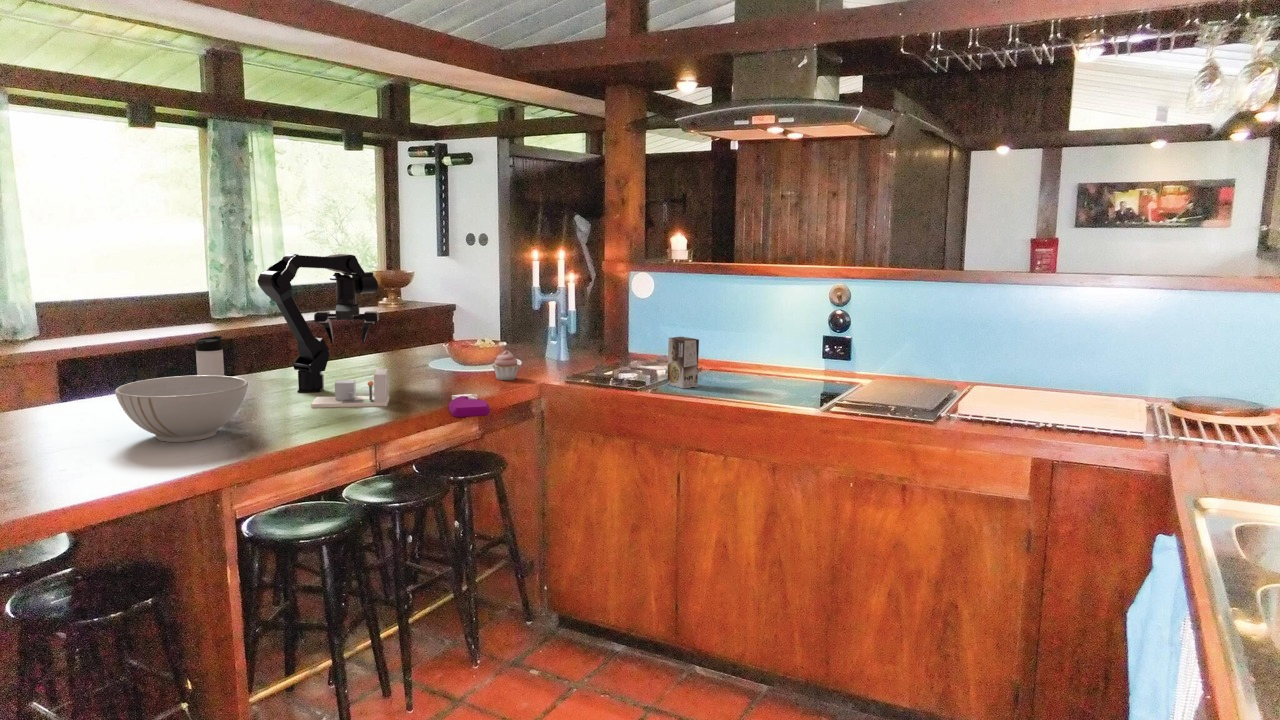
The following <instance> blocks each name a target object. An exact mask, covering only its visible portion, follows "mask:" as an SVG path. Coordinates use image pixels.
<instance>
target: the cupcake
mask: <svg viewBox="0 0 1280 720" xmlns="http://www.w3.org/2000/svg"><path fill="white" fill-rule="evenodd" d="M495 358H496V359H495V360H494V364H491V366H492V368H493V370H494V372H495V377H496V379H497V380H498V381H503V380H505V381H508V380H509V381H514V380H516V378H517V374H518V372H519V371H518V370H519V368H520V366H521V364H518V359H517V358H516V357H515V356H514V354H513V353H512V352H511V351H509V350H507V349H505V350H504V351H503V352H502V353H501V354H499V355H497V356H496V357H495Z"/></svg>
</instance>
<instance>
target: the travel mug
mask: <svg viewBox="0 0 1280 720" xmlns="http://www.w3.org/2000/svg"><path fill="white" fill-rule="evenodd" d="M223 350H224V349H223V338H222V335H214V336H209V337H202V338H198V339H196V340H195V357H196V358H195V359H196V373H197V374H196V376H197V375H214V376H225V363H224V351H223Z"/></svg>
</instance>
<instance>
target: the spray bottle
mask: <svg viewBox="0 0 1280 720" xmlns="http://www.w3.org/2000/svg"><path fill="white" fill-rule="evenodd" d="M448 411H449V412H450V414H451V415H452V416H453V417H455V418H472V417H474V418H475V417H486V416H489V414H490V412H491V408H490V405H489V404H488V403H487V401H485V400H484V399H478V394H476V393H475V394H472V393H469V394H468V393H464V394H452V395H451V400H450V401H449V403H448Z"/></svg>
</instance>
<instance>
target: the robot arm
mask: <svg viewBox="0 0 1280 720" xmlns="http://www.w3.org/2000/svg"><path fill="white" fill-rule="evenodd" d="M300 268H305V269H306V268H307V269H308V268H309V269H325V270H329V271H332V272H334V274H332V276H330V277H329V280H330V281H335V285H336V286H335V287H336V305H335V309H334V310H335V313H331V311H329V310H327V311H322V310H318V311H316V312H315V313H314V314H313V315H314V316H313V321H314V323H315V322H317V323H318V325H322V327H323V328H324V330H325V331H326V333H327V336H328V337H329V338H328V339H329V341H330V343H331V345H333V344H334V333H333V332H334V331H333V325H332V320H335V321H336V320H337V321H342V320H347V321H352V320H364V322H363V325H362V326H363V327H362V336H361V341H362V343H361V344H364V343H365V340H366V337H367V334H368V331H369V329H370V327H371V325H374V324H375V322H378V321H379V320H380V318H379V317H380V316H379V312H378V311H370V310H369V311H366V310H365V312H364V313H360V304H359V303H357V294H359V295H361V294H374V293H376V292H377V291H378V289H379V282H378V280H377V278H376V277H375V276H374V272H373V271H364V269H363V267H362V266H361V265H360V263H359V261H358V258H357V257H356V255H354V254H345V253H336V254H331V255H326V256H321V255H320V256H316V255H301V254H297V253H287V254H284V255H283V256H282V257H281V258H280V259H279V260H278V261H275V263H273V264H271V265H270V266H269V267H268V268H267V269H265V270H264V271H262V272H260V273H259V275H258V278H257V284H258V286H259V288H260V289H261V290H262V292H263V293H264V294H265V295H266V296H267V297H269V298H270V299H271V300H272V301H274V302H275V304H276V306H277V308H278V309H279V311H280V313H281V314H282V316H283V318H284V320H285V322H286V324H287V325H288V327H289V329H290V332H291V333H292V335H293V337H294V338H295V339H296V341H297V352H298V356H297V357H296V359H295V360H294V361H293V363H292V366H293V370H294V371H297V382H298V383H297V384H298V389H297V393H320V392H321V391H323V389H324V388H325V378H324V377H325V375H324V374H322V372H325V371H326V369H327V365H328V362H329V358H330V356H331V355H330V350H331V349H330V348H329V347H328V346H327V344H326V341H325V338H323V337H321V338H320V337H315V336H314V334H313V332H312V330H311V328H310V327H309V325H308V323H307V321H306V320H305V318H304V316H303V314H302V312H301V310H300V308H299V307H298V305H297V303H296V300H294V297H293V286H292V283H291V282H292V281H293V280H294V278H295V277H296V275H297V272H298V270H299V269H300Z"/></svg>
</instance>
